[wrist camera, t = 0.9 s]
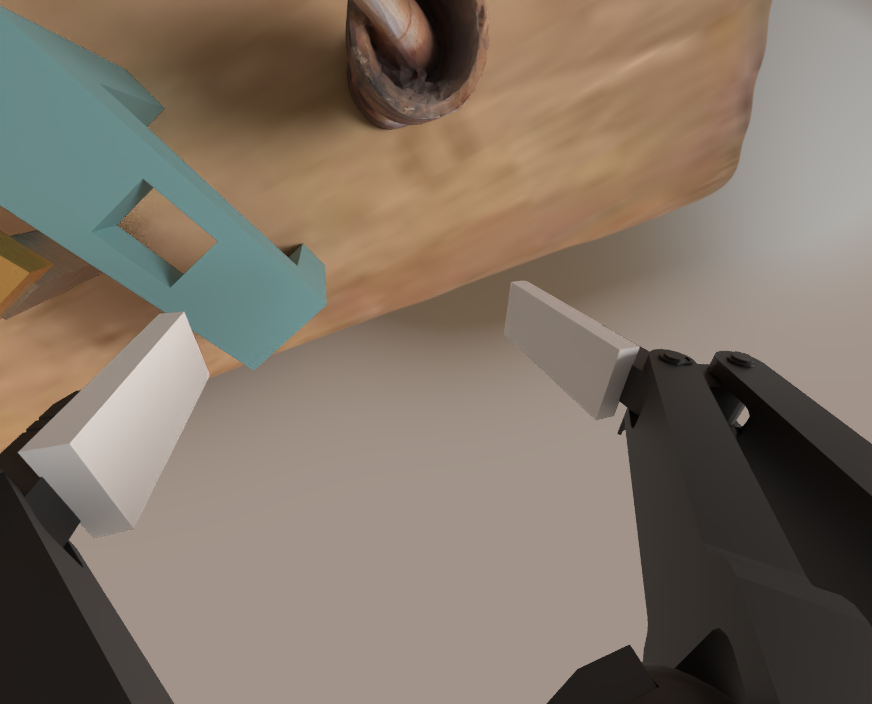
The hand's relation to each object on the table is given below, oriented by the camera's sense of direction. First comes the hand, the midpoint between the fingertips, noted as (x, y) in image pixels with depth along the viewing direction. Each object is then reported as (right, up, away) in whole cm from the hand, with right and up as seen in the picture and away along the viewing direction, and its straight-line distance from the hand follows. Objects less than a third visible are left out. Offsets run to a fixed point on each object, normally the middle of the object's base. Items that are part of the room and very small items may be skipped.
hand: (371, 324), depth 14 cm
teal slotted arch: (-18, +12, +17) cm, 28 cm away
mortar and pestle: (-3, +24, +16) cm, 29 cm away
